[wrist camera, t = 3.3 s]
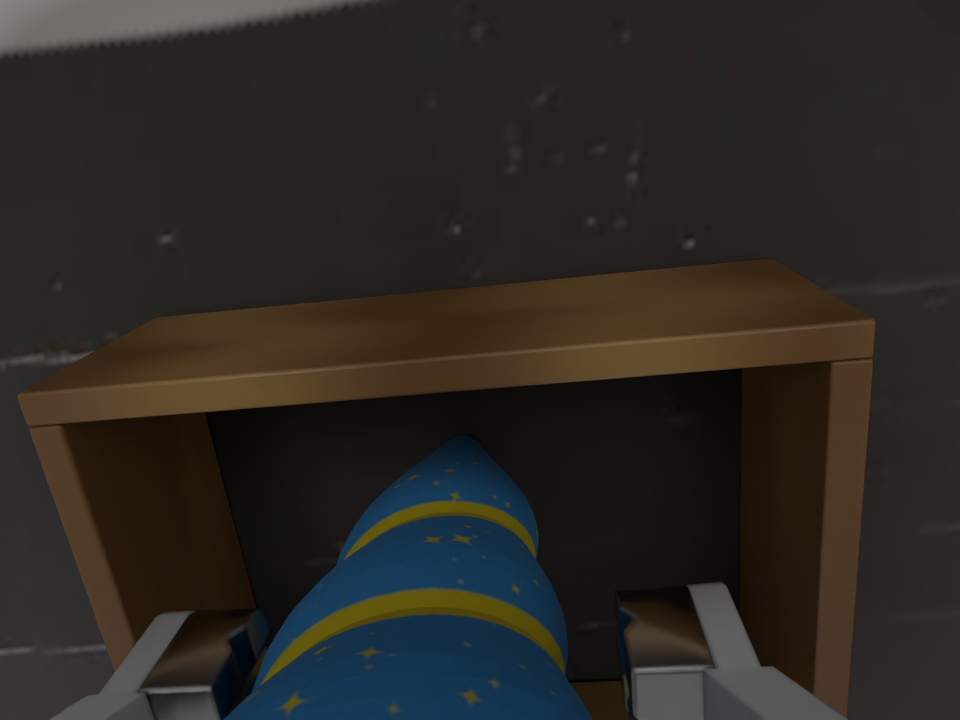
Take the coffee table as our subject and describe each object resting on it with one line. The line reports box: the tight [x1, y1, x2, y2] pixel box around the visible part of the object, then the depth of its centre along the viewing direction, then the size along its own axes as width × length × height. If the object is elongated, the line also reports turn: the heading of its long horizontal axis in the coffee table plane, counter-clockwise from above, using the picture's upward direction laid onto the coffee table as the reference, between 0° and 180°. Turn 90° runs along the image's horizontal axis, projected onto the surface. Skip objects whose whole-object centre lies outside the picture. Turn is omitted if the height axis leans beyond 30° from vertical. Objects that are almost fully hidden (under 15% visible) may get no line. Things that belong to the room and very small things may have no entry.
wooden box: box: [17, 258, 875, 720], centre depth 14 cm, size 13×11×4 cm
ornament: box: [223, 435, 593, 720], centre depth 9 cm, size 5×5×15 cm
